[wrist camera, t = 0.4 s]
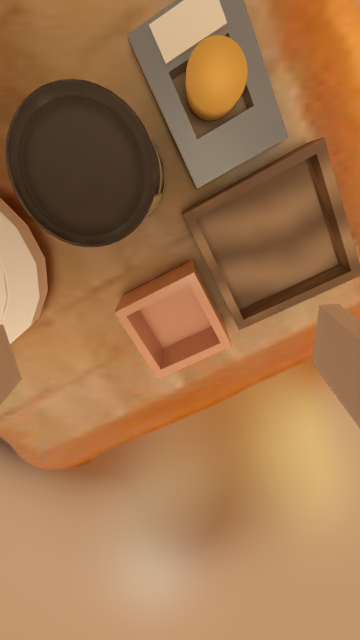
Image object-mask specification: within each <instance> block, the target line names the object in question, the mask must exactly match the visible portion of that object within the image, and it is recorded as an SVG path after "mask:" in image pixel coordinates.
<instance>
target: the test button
mask: <svg viewBox="0 0 360 640" xmlns="http://www.w3.org/2000/svg"><path fill="white" fill-rule="evenodd" d="M247 72H248V71H247V62H246V58H245V55H244V53H243V51H242V49H241V48H240V46H239V45H238V44H237V43H236V42H235V41H234V40H232V39H231V38H229V37H226V36H222V35H214V36H210V37H207V38H206V39H204V40H202V41H201V42H200V43H199V44H198V45H197V46H196V47H195V48H194V50H193V51H192V53H191V55H190V57H189V60H188V63H187V68H186V84H185V93H186V99H187V102H188V105H189V107H190V109H191V110H192V111H193V113H194V114H195V115H196V116H198V117H199V118H201V119H203V120H207V121H215V120H218V119H221V118H223V117H224V116H226V115H227V114H228V113H229V112H230V111H231V110H232V108H233V107H234V105H235V104H236V102H237V101H238V99H239V98H240V96H241V95H242V93H243V91H244V88H245V85H246V81H247Z"/></svg>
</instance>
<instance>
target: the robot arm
mask: <svg viewBox="0 0 360 640" xmlns="http://www.w3.org/2000/svg"><path fill="white" fill-rule="evenodd" d="M312 364H313V365H314V366H315V368H316V369H317V371H318V372H319V373H320V375H321V376H322V377H323V378H324V380H325V381H326V383H327V384H328V386H329V387H330V388H331V389H332V391H333V392H334V394H335V395H336V396H337V398H338V399H339V401H340V402H341V403H342V405H343V406H344V407H345V409H346V410H347V411H348V413H349V414H350V415H351V417H352V418H353V420H354V421H355V422H356V423H357V425H358V426H359V428H360V320H359V319H358V318H356V317H355V316H354V315H352V314H351V313H350V312H348V311H347V310H346V309H344V308H343V307H342V306H340V305H339V304H331V305H319V313H318V320H317V328H316V335H315V343H314V350H313V358H312ZM21 379H22V378H21V375H20V372H19V369H18V366H17V363H16V361H15V358H14V355H13V352H12V349H11V346H10V343H9V340H8V337H7V334H6V331H5V328H4V325H3V324H2V325H0V405H1V404H2V403H3V401H4V400H5V399H6V398H7V396H8V395H9V394H10V393H11V392H12V390H13V389H14V388H15V387H16V385H17V384H18V383H19V382H20V380H21Z"/></svg>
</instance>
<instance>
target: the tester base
mask: <svg viewBox="0 0 360 640" xmlns="http://www.w3.org/2000/svg"><path fill="white" fill-rule="evenodd" d="M214 35H222V36H226V37H229V38H231V39H232V40H234V41H235V42H236V43H237V44H238V45H239V46H240V48H241V49H242V51H243V53H244V55H245V58H246V62H247V71H248V72H247V81H246V85H245V88H244V91H243V93H242V94H243V97H244V100H245V103H246V106H247V108H248V109H247V110H246V111H244V112H242V113H241V114H239V115H237V116H236V117H234V118H232V119H231V120H229V121H227V122H226V123H224V124H222V125H221V126H219V127H217V128H216V129H214V130H212V131H211V132H209V133H207V134H206V135H204V136H202V137H201V138H199V139H197V137H196V135H195V133H194V130H193V128H192V126H191V123H190V121H189V119H188V116H187V114H186V112H185V109H184V107H183V105H182V102H181V100H180V98H179V95H178V93H177V91H176V88H175V86H174V84H173V82H172V79H173V78H175V77H176V76H178V75H179V74H181V73H182V72H184V71H185V70H186V68H187V63H188V60H189V57H190V55H191V53H192V51H193V50H194V48H195V47H196V46H197V45H198V44H199V43H200V42H201V41H202V40H204V39H206V38H207V37H210V36H214ZM127 37H128V39H129V42H130V45H131V48H132V50H133V52H134V54H135V56H136V58H137V61H138V63H139V65H140V67H141V69H142V72H143V74H144V76H145V78H146V80H147V82H148V85H149V87H150V89H151V91H152V93H153V96H154V98H155V100H156V102H157V104H158V106H159V109H160V111H161V113H162V115H163V117H164V120H165V122H166V124H167V126H168V128H169V130H170V133H171V135H172V137H173V139H174V141H175V144H176V146H177V148H178V150H179V152H180V154H181V157H182V159H183V161H184V163H185V165H186V168H187V170H188V172H189V174H190V176H191V178H192V181H193V183H194V185H195V187H196V189H197V188H199V187H201V186H203V185H205V184H206V183H208V182H210V181H212V180H213V179H215V178H217V177H219V176H221V175H222V174H224V173H226V172H228V171H229V170H231V169H233V168H235V167H237V166H238V165H240V164H242V163H244V162H245V161H247V160H249V159H251V158H253V157H254V156H256V155H258V154H260V153H261V152H263V151H265V150H267V149H269V148H270V147H272V146H274V145H276V144H277V143H279V142H281V141H283V140H285V139H286V138H288V136H287V133H286V130H285V127H284V123H283V120H282V117H281V114H280V111H279V108H278V105H277V102H276V99H275V96H274V93H273V89H272V86H271V83H270V80H269V77H268V74H267V71H266V68H265V65H264V62H263V59H262V55H261V52H260V49H259V46H258V43H257V40H256V37H255V34H254V31H253V28H252V25H251V21H250V18H249V15H248V12H247V9H246V6H245V3H244V0H176V1H175V2H173V3H172V4H171V5H169V6H168V7H166V8H165V9H163V10H162V11H161V12H159V13H158V14H156V15H155V16H154V17H152V18H151V19H149V20H148V21H146V22H145V23H144V24H142V25H141V26H139V27H138V28H137V29H135V30H134V31H132V32H131V33H129V34H128V35H127Z"/></svg>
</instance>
